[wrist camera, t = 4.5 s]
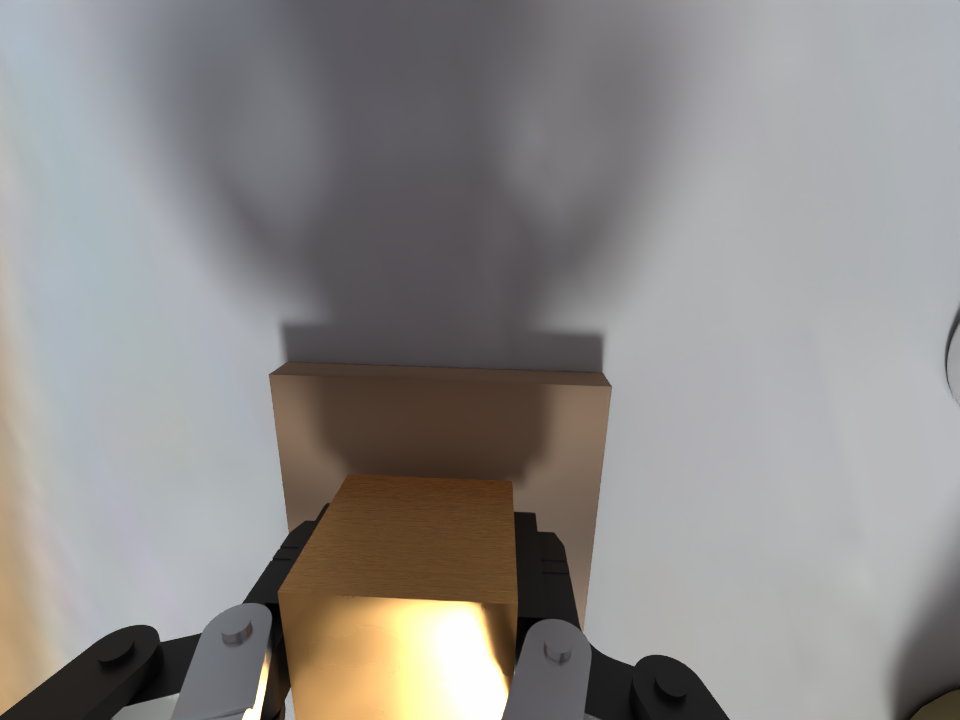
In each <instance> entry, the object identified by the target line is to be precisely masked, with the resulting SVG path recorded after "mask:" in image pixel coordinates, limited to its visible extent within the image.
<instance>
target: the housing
mask: <svg viewBox="0 0 960 720" xmlns="http://www.w3.org/2000/svg"><path fill="white" fill-rule="evenodd" d="M269 378H270V386H271V394H272V402H273V410H274V418H275V426H276V434H277V441H278V449H279V457H280V465H281V473H282V481H283V489H284V497H285V505H286V513H287V521H288V529H289V533H290V532H291V531H292V530H294V529H295V528H296V527H298V526H299V525H300V524H301V523H303V522H304V521H305V520H309V521H315V520H316V518H317V517H318V515H319V513H320V512H321V510H322V509H323V507H324V505H325V504H326V503H331V502H332V500H333V498H334V497H335V495H336V493H337V492H338V490H339V488H340V487H341V485H342V483H343V482H344V480H345V478H346V477H347V475H348V474H359V475H382V476H405V477H429V478H452V479H475V480H499V481H512V483H513V504H514V512H535V514H536V521H537V530H538V532H554V533H555V534H556V535H557V537H558V538H559V539H560V541H561V542H562V543H563V545H564V547H565V552H566V557H567V564H568V567H569V572H570V577H571V582H572V587H573V593H574V598H575V603H576V608H577V613H578V618H579V623H580V627H581V630H582V632H583V628H584V620H585V611H586V603H587V594H588V586H589V577H590V569H591V560H592V552H593V543H594V535H595V526H596V517H597V509H598V500H599V492H600V483H601V475H602V466H603V458H604V449H605V441H606V432H607V424H608V415H609V406H610V398H611V389H612V386H611V385H610V383H609V382H608V380H607V379H606V377H605V376H604V374H603V373H590V372H561V371H532V370H503V369H474V368H445V367H416V366H387V365H357V364H328V363H299V362H287V363H285V364H284V365H282V366H281V367H279V368H278V369H276V370H275V371H273V372H272V373H270V374H269Z"/></svg>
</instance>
